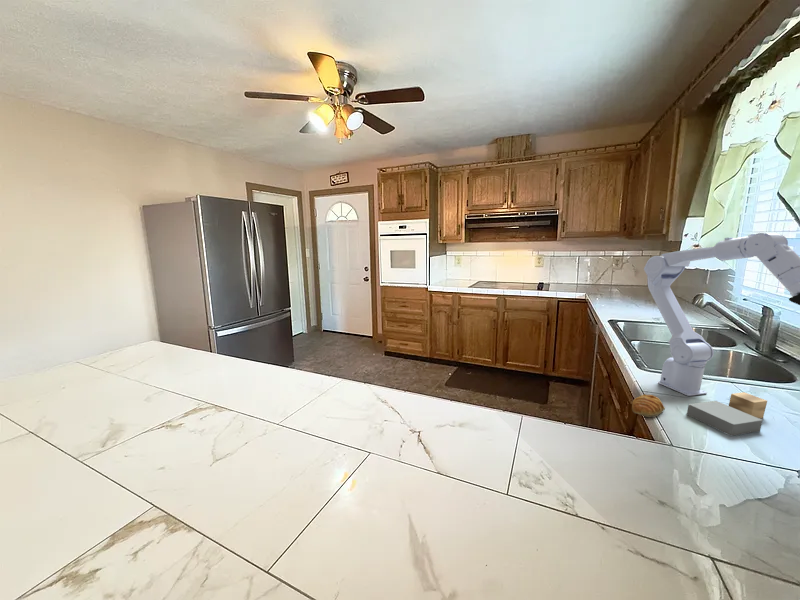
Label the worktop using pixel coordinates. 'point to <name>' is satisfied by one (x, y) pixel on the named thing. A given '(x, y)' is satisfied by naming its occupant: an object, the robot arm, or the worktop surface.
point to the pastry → (647, 405)
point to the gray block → (724, 418)
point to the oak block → (748, 404)
